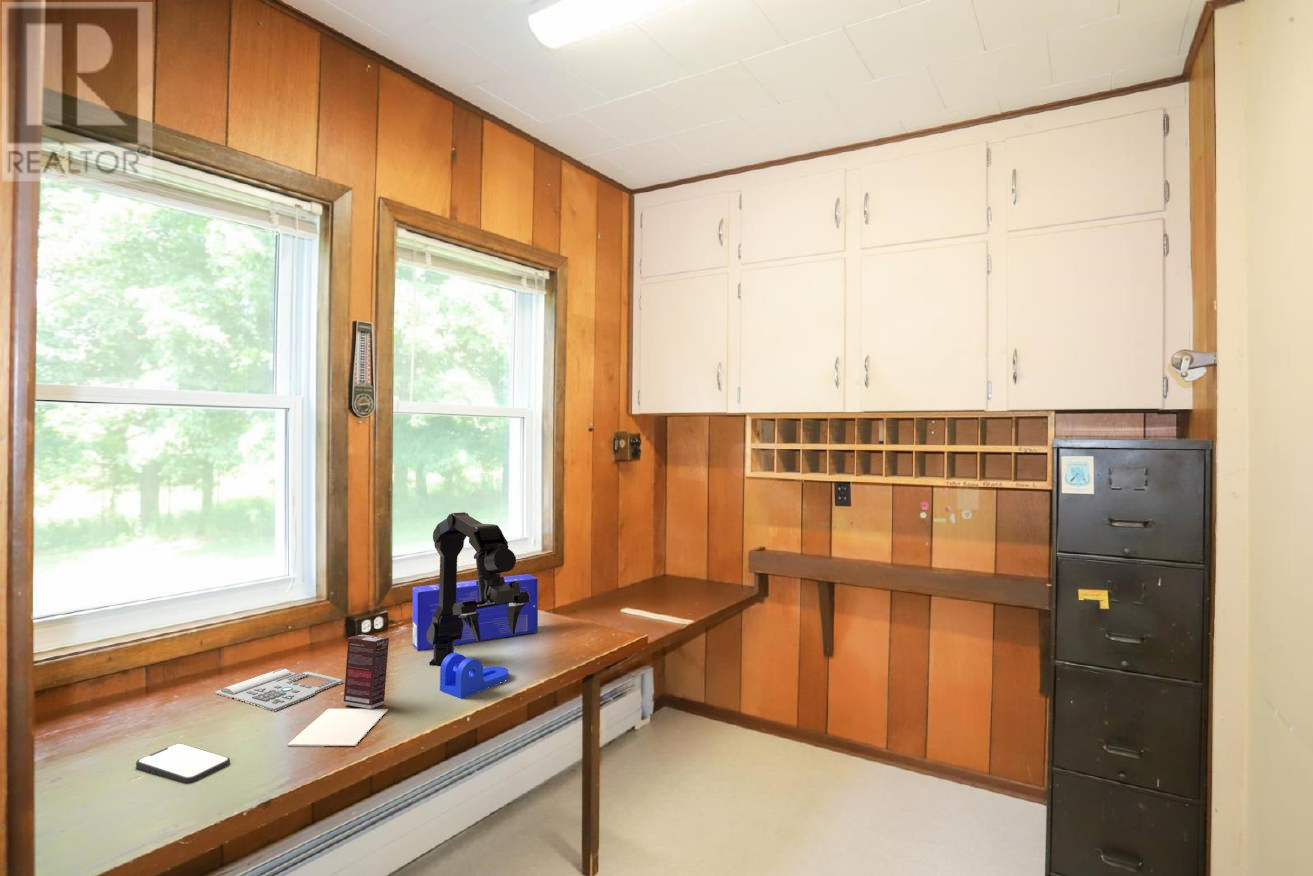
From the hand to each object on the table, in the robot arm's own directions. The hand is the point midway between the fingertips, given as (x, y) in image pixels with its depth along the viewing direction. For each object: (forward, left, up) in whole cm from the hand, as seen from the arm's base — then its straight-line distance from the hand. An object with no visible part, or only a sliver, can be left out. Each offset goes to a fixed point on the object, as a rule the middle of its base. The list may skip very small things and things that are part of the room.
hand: (496, 638), depth 163 cm
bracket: (-10, -7, -16) cm, 20 cm away
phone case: (+33, -54, -16) cm, 65 cm away
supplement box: (+4, -31, -15) cm, 35 cm away
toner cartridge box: (-49, -17, -16) cm, 54 cm away
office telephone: (-6, -56, -16) cm, 58 cm away
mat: (+16, -31, -15) cm, 38 cm away
